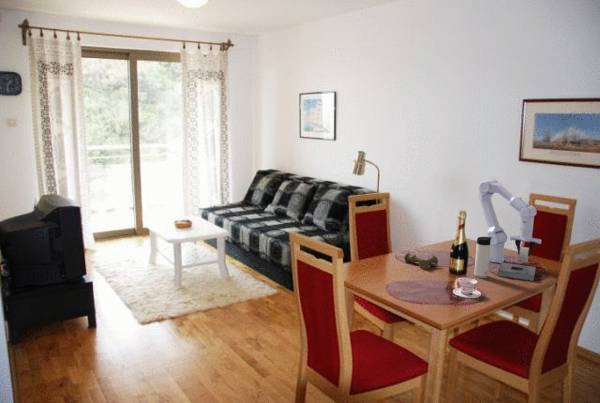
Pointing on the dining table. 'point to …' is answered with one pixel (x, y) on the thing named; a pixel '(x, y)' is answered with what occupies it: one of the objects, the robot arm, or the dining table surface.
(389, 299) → the dining table surface
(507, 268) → the socket plate
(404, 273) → the dining table surface
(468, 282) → the teacup
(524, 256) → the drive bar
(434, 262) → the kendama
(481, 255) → the travel mug
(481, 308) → the dining table surface
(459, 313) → the dining table surface
